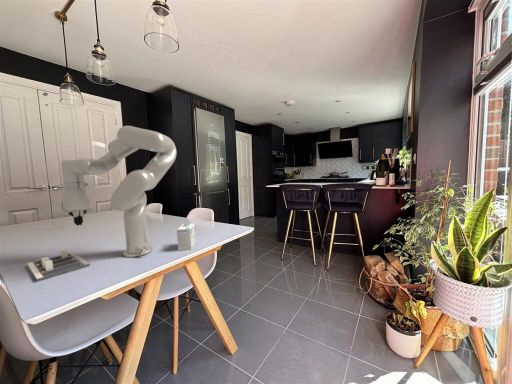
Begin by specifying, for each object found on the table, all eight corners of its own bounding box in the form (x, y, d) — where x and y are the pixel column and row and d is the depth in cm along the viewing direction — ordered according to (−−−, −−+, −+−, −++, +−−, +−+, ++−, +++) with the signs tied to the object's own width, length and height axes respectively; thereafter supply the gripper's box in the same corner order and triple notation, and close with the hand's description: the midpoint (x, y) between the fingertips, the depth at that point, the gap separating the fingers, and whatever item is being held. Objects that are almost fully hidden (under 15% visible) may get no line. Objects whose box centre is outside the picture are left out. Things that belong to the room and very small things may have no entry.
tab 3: (68, 257, 99) (67, 250, 98) (62, 258, 97) (61, 251, 97) (66, 256, 100) (66, 249, 100) (61, 257, 98) (60, 250, 98)
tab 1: (50, 266, 89) (49, 258, 89) (43, 267, 88) (42, 259, 87) (49, 264, 91) (47, 256, 90) (42, 266, 89) (41, 258, 89)
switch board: (89, 265, 91) (89, 261, 91) (36, 281, 79) (35, 277, 78) (73, 254, 106) (73, 250, 106) (26, 266, 93) (26, 262, 93)
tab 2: (53, 269, 86) (52, 261, 85) (46, 271, 84) (45, 263, 84) (52, 268, 87) (51, 259, 87) (45, 270, 86) (44, 261, 85)
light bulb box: (183, 243, 116) (181, 224, 115) (196, 242, 116) (194, 223, 115) (177, 250, 105) (176, 229, 104) (191, 249, 106) (190, 228, 105)
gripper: (91, 185, 109) (95, 220, 110) (51, 187, 97) (56, 227, 99) (96, 185, 104) (100, 222, 106) (54, 187, 92) (60, 229, 94)
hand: (78, 224), depth 102 cm, fingers closed
